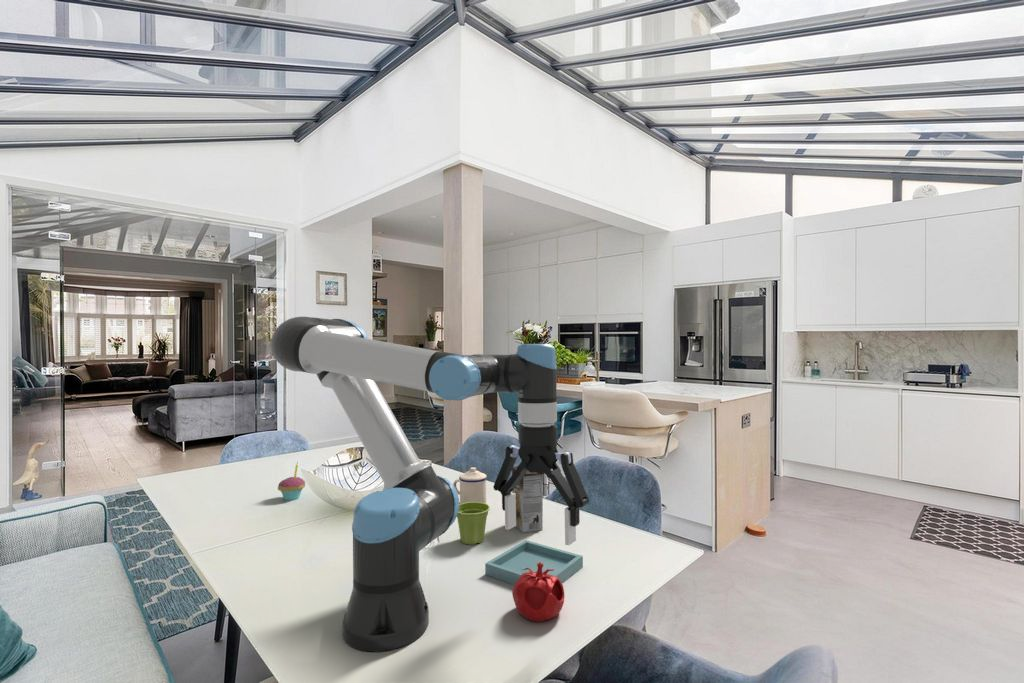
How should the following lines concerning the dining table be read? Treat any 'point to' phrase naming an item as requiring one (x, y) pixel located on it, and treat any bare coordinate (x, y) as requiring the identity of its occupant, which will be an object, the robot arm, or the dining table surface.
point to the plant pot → (472, 521)
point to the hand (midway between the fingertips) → (539, 535)
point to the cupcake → (292, 486)
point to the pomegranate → (538, 594)
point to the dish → (533, 562)
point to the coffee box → (529, 502)
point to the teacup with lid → (472, 486)
